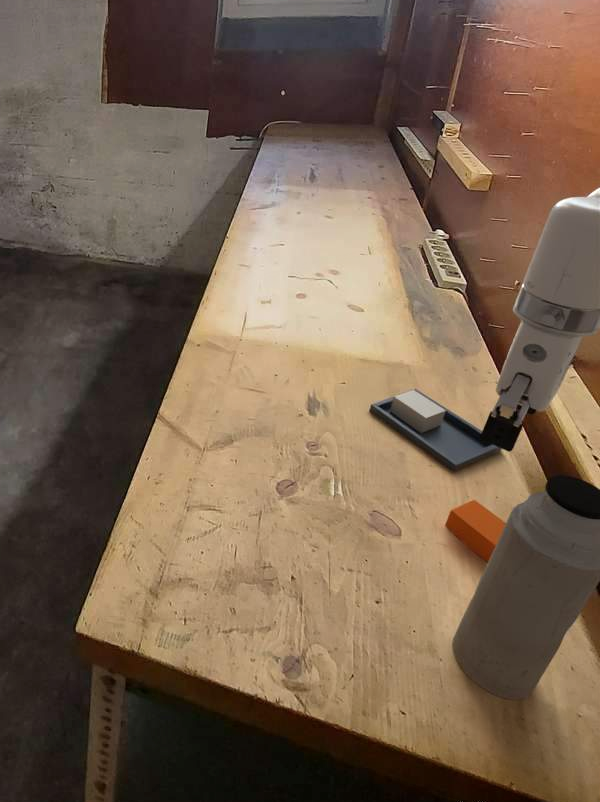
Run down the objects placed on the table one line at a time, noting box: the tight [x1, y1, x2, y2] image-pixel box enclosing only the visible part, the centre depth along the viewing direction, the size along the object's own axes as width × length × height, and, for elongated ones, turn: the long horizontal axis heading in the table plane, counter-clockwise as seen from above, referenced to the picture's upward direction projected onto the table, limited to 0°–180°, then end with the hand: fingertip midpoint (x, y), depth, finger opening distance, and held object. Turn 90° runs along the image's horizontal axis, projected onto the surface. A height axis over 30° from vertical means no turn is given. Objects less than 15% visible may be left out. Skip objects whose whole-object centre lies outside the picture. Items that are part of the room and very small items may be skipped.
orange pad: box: [444, 499, 506, 563], centre depth 81 cm, size 5×6×4 cm
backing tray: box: [369, 388, 503, 473], centre depth 101 cm, size 12×17×2 cm
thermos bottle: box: [451, 474, 600, 701], centre depth 60 cm, size 8×8×28 cm
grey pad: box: [390, 389, 446, 433], centre depth 103 cm, size 5×6×4 cm
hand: (507, 425), depth 70 cm, fingers open, 9 cm apart
